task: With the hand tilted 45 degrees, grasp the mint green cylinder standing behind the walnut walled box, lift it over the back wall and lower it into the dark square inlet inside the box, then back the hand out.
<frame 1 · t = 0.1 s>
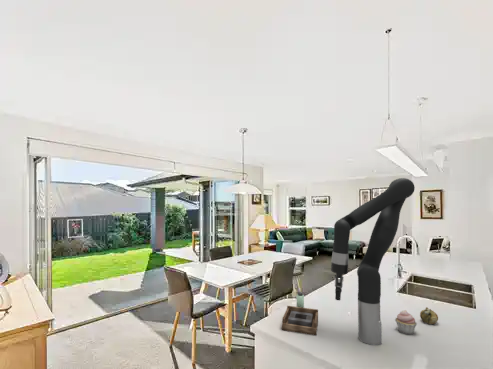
hand: (337, 297, 127), 17 cm above the counter, tool pointing down, fingers open, 8 cm apart
onion: (429, 323, 140), on the counter
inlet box: (300, 325, 135), on the counter
mint green cylinder: (300, 313, 150), on the counter
cupcake: (406, 331, 130), on the counter
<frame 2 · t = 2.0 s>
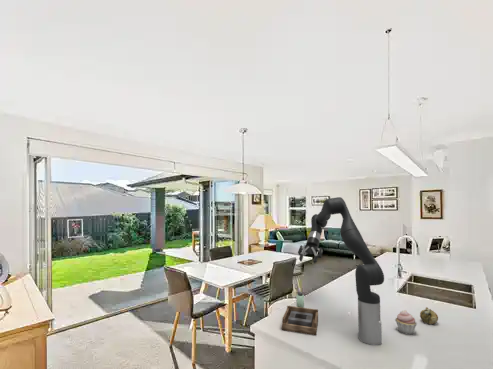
hand: (307, 261, 161), 26 cm above the counter, tool tilted 45°, fingers open, 8 cm apart
nothing on the counter moved.
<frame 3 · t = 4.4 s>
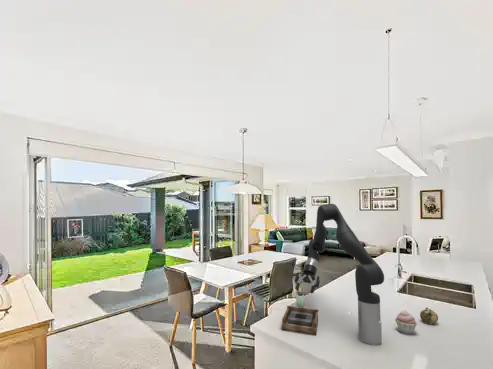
hand: (304, 291, 155), 11 cm above the counter, tool tilted 45°, fingers open, 8 cm apart
nothing on the counter moved.
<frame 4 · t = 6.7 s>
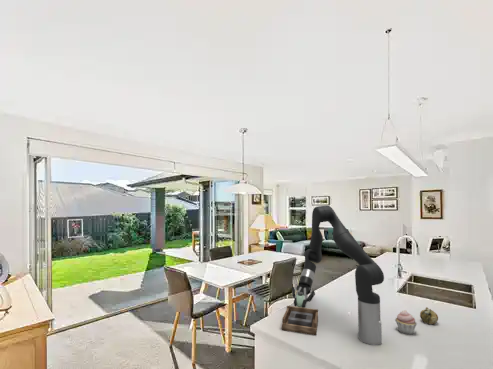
hand: (298, 306, 148), 5 cm above the counter, tool tilted 45°, fingers closed on mint green cylinder, 4 cm apart
mint green cylinder: (300, 313, 150), on the counter, touching gripper
everything else where it was.
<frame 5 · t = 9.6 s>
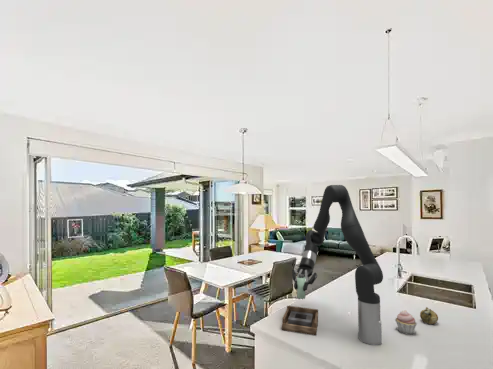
hand: (299, 289, 136), 18 cm above the counter, tool tilted 45°, fingers closed on mint green cylinder, 4 cm apart
mint green cylinder: (301, 297, 138), point 13 cm above the counter, touching gripper
everything else where it was.
when the fingers open (7 cm above the counter, at t = 12.8 s): mint green cylinder drops 1 cm, resting on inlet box.
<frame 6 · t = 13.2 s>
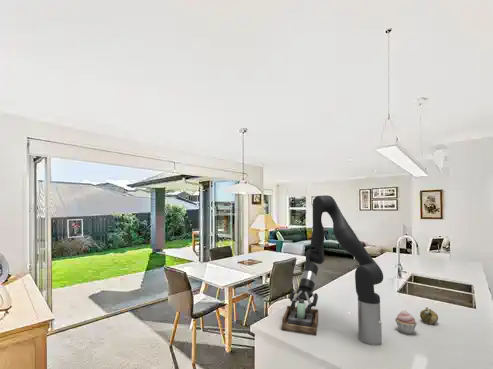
hand: (299, 311, 134), 8 cm above the counter, tool tilted 45°, fingers open, 7 cm apart
mint green cylinder: (300, 323, 135), point 1 cm above the counter, touching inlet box
everything else where it was.
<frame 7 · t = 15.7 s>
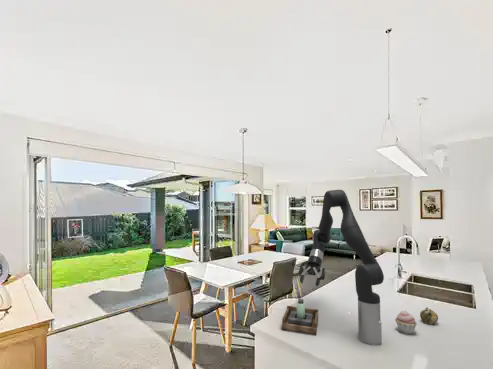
hand: (308, 283, 146), 18 cm above the counter, tool tilted 45°, fingers open, 8 cm apart
nothing on the counter moved.
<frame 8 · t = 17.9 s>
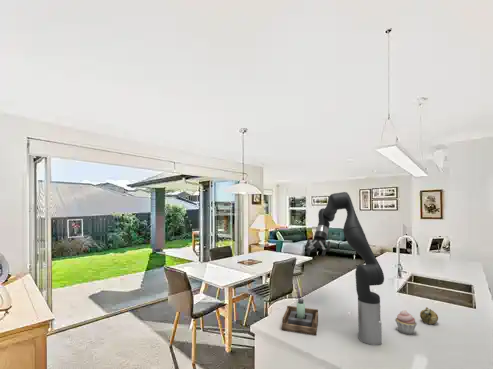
hand: (315, 255, 159), 31 cm above the counter, tool tilted 45°, fingers open, 8 cm apart
nothing on the counter moved.
at the end: mint green cylinder 0.1 cm off-centre on the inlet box, point 1.0 cm above the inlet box's base; mint green cylinder tilted 0°; the gripper is holding nothing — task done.
